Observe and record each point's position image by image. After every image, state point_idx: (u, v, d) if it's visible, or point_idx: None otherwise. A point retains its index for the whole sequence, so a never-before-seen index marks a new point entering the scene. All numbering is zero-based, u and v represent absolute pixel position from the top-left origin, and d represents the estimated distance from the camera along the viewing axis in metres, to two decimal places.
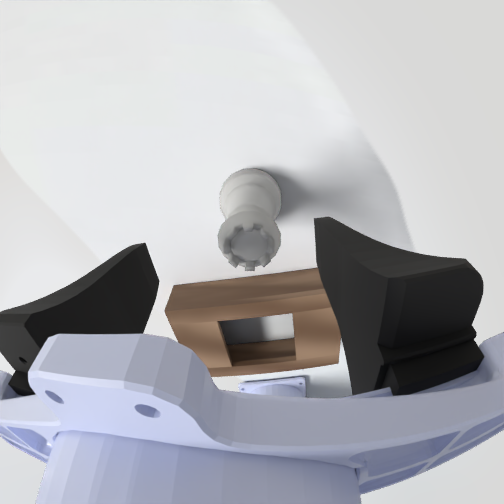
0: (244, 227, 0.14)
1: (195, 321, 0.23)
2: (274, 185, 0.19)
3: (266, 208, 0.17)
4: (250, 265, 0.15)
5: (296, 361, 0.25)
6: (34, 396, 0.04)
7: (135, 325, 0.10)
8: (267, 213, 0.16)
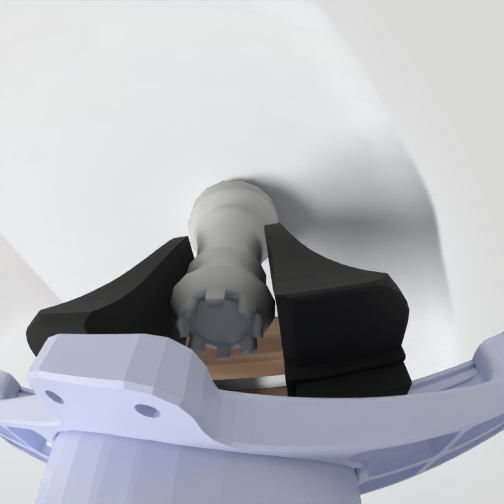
0: (208, 300, 0.07)
1: None
2: (268, 206, 0.13)
3: (254, 248, 0.11)
4: (223, 353, 0.08)
5: None
6: (34, 396, 0.04)
7: None
8: (254, 261, 0.10)
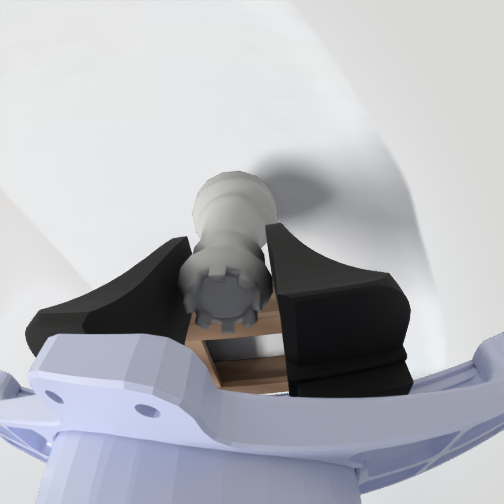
0: (211, 276, 0.08)
1: None
2: (265, 193, 0.14)
3: (252, 231, 0.12)
4: (227, 327, 0.09)
5: None
6: (34, 396, 0.04)
7: (181, 322, 0.10)
8: (252, 242, 0.10)
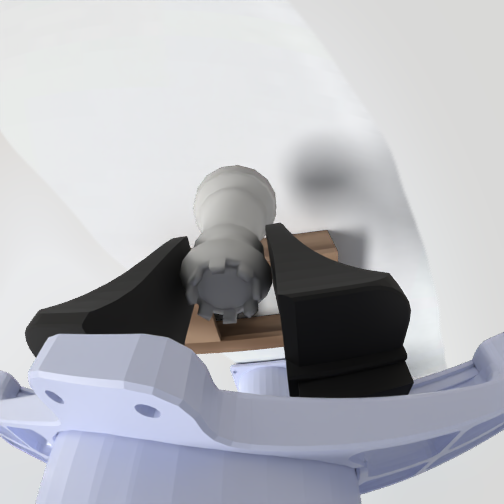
0: (211, 268, 0.09)
1: None
2: (264, 186, 0.14)
3: (251, 223, 0.12)
4: (229, 317, 0.10)
5: None
6: (34, 396, 0.04)
7: (181, 322, 0.10)
8: (251, 234, 0.11)
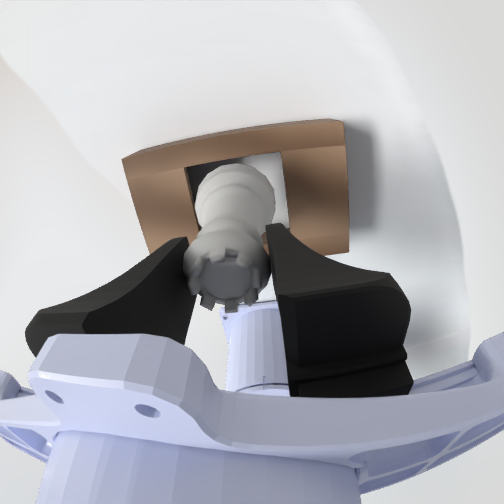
0: (211, 258, 0.09)
1: (156, 171, 0.17)
2: (262, 182, 0.14)
3: (250, 217, 0.12)
4: (230, 306, 0.10)
5: None
6: (34, 396, 0.04)
7: (181, 323, 0.10)
8: (250, 226, 0.11)
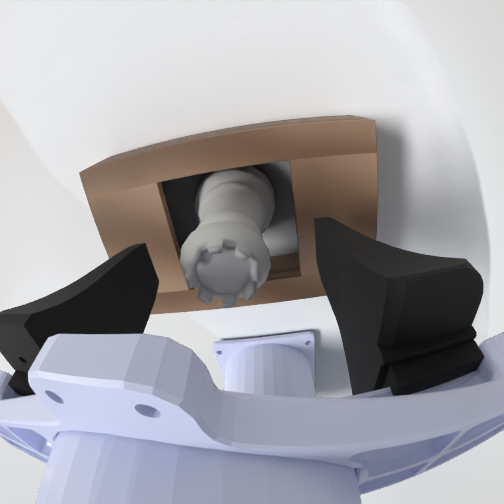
0: (209, 248, 0.09)
1: (122, 188, 0.12)
2: (262, 180, 0.14)
3: (250, 213, 0.12)
4: (228, 301, 0.10)
5: (301, 279, 0.15)
6: (34, 396, 0.04)
7: (135, 325, 0.10)
8: (249, 221, 0.11)
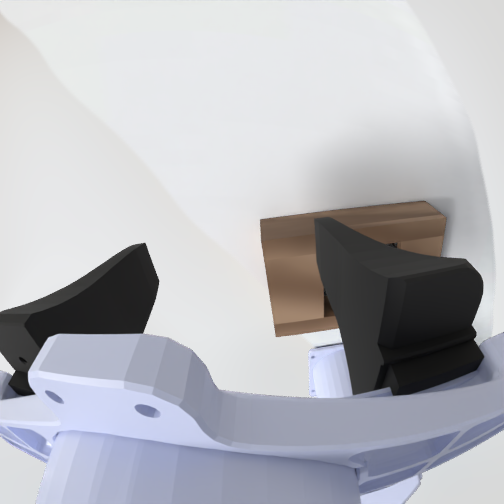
0: None
1: (297, 254, 0.19)
2: None
3: None
4: None
5: None
6: (34, 396, 0.04)
7: (135, 325, 0.10)
8: None
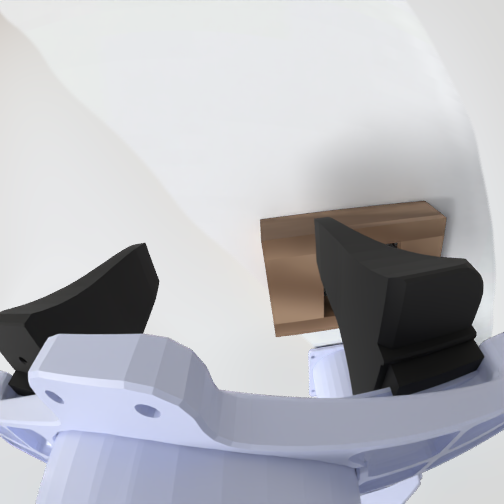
0: None
1: (297, 254, 0.19)
2: None
3: None
4: None
5: None
6: (34, 396, 0.04)
7: (135, 325, 0.10)
8: None
